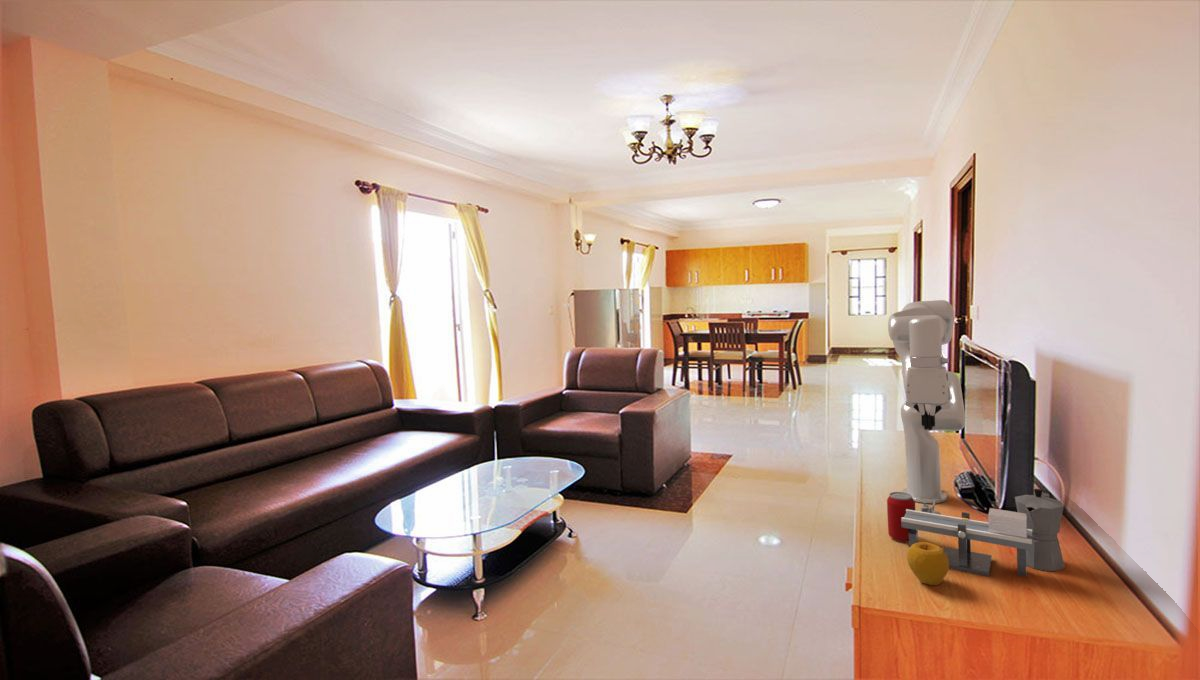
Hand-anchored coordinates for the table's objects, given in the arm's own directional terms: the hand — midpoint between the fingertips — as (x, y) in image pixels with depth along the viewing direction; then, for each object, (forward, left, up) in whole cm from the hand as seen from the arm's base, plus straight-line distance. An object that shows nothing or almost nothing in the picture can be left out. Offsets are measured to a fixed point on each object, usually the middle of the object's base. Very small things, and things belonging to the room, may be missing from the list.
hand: (928, 428), depth 150 cm
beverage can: (+8, -6, -29) cm, 31 cm away
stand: (+16, +9, -29) cm, 34 cm away
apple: (+30, +3, -29) cm, 42 cm away
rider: (+16, +18, -20) cm, 31 cm away
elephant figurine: (-6, 0, -29) cm, 30 cm away
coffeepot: (+6, +24, -29) cm, 38 cm away
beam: (+16, +9, -22) cm, 28 cm away
